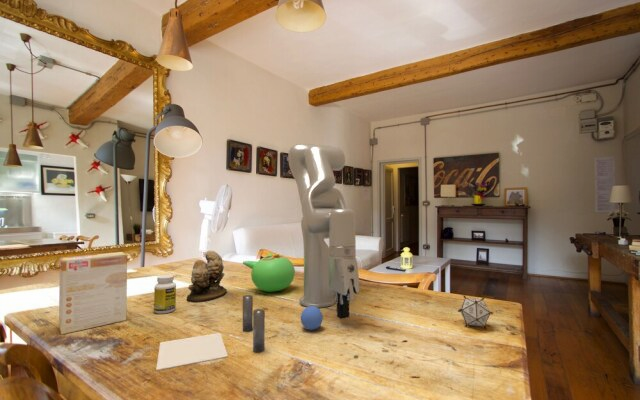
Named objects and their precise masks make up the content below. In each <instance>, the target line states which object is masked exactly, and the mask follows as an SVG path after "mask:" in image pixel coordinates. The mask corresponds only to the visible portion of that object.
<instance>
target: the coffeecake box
mask: <svg viewBox="0 0 640 400" xmlns="http://www.w3.org/2000/svg"><path fill="white" fill-rule="evenodd" d="M127 273H128V254H127V253H125V252H123V251H117V252H108V253H97V254H96V253H95V254H86V255H76V256H75V255H74V256H63V257H60V259H59V289H58V290H59V291H58V292H59V298H58V299H59V301H58V302H59V303H58V305H59V308H58V315H59V316H58V329H59V331H60V334H61V335H65V334H71V333H76V332H78V331H83V330H87V329H92V328H96V327H101V326H106V325H110V324H114V323H119V322H124V321H127V316H128V315H127V314H128V313H127V311H128V310H127V308H128V307H127V306H128V304H127V299H128V297H127V296H128V295H127V293H128V292H127V290H128V280H127V279H128V275H127Z"/></svg>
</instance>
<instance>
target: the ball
mask: <svg viewBox="0 0 640 400" xmlns="http://www.w3.org/2000/svg"><path fill="white" fill-rule="evenodd" d="M323 318H324V317H323V313H322V311H321V309H320V308H317V307H315V306H309V307H307V306H306V307H305V308H304V309H302V312H301V314H300V322H301V324H302V326H303V327H304V328H305V329H307V330H309V331H313V330H316V329H318V328H320V326H321V325H322V323H323V321H324V320H323Z"/></svg>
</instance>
